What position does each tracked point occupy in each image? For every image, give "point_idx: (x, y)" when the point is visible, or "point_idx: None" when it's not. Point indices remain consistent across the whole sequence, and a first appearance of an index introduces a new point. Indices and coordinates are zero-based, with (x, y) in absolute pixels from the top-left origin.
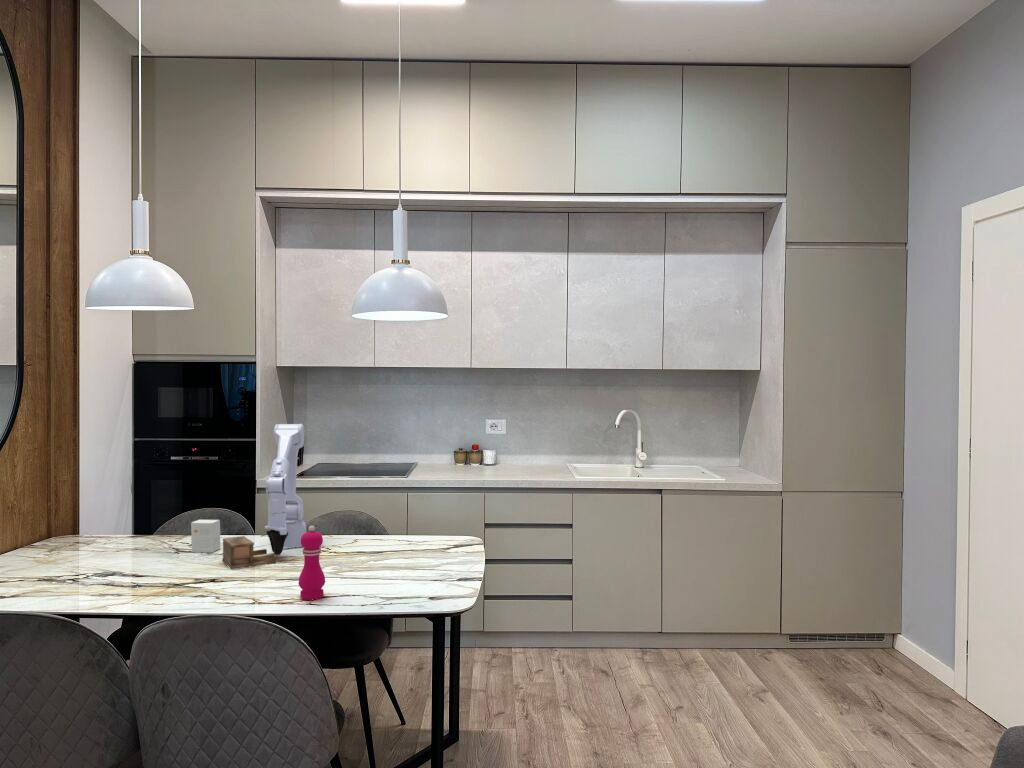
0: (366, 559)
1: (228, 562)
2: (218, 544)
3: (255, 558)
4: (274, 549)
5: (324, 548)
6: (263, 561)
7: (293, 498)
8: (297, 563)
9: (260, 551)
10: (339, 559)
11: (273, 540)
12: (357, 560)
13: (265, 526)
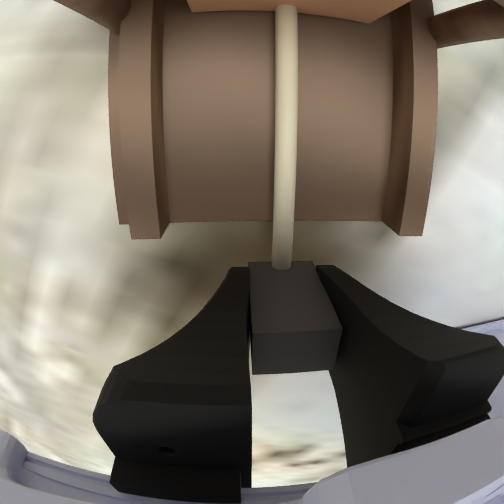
0: (89, 468)
1: None
2: None
3: (122, 46)
4: (238, 279)
5: (322, 456)
6: (119, 119)
7: None
8: (76, 324)
9: (403, 174)
10: (106, 444)
11: (188, 336)
12: (81, 456)
13: (472, 501)
